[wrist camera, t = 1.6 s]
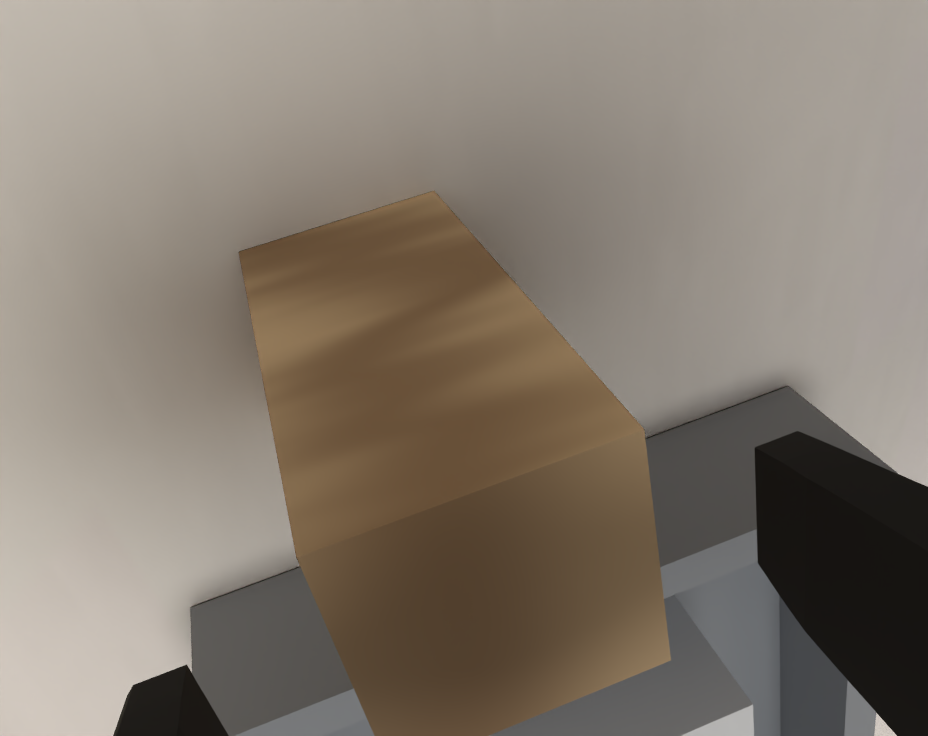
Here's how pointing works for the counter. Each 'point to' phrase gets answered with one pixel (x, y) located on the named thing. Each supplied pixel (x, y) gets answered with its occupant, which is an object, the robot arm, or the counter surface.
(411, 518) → the peg
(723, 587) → the socket box
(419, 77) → the counter surface
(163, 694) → the robot arm
